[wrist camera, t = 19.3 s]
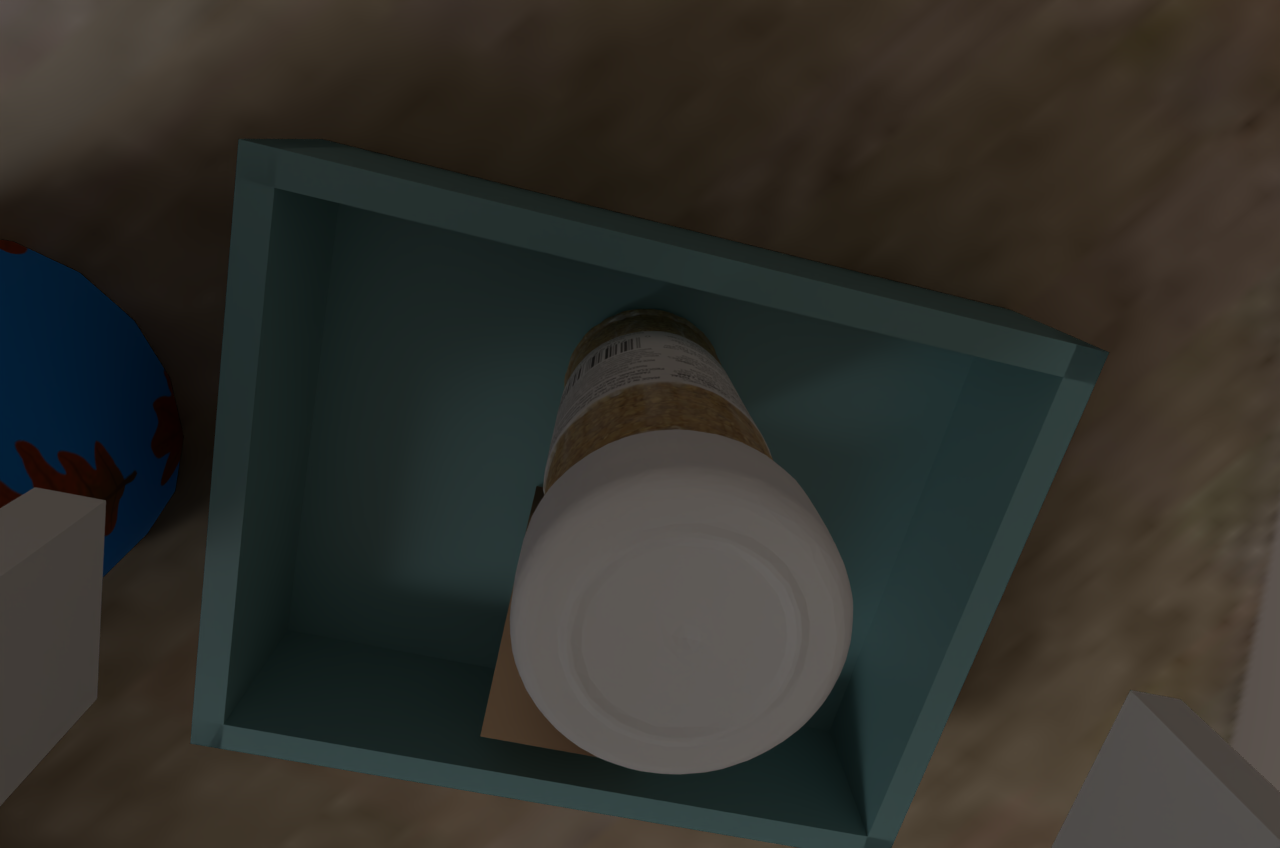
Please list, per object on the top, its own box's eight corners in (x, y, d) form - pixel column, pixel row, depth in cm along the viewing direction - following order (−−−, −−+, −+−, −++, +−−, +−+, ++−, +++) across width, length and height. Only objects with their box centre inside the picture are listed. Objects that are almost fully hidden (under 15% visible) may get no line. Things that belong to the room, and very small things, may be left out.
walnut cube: (505, 627, 26) (479, 736, 21) (536, 485, 24) (516, 569, 20) (658, 657, 26) (667, 769, 22) (698, 520, 25) (717, 609, 20)
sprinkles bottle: (603, 481, 24) (590, 834, 11) (538, 341, 23) (440, 558, 10) (748, 423, 24) (907, 720, 11) (690, 277, 22) (794, 416, 10)
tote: (267, 635, 26) (190, 743, 22) (321, 138, 21) (238, 139, 17) (840, 742, 28) (884, 862, 24) (1010, 309, 23) (1109, 352, 19)
